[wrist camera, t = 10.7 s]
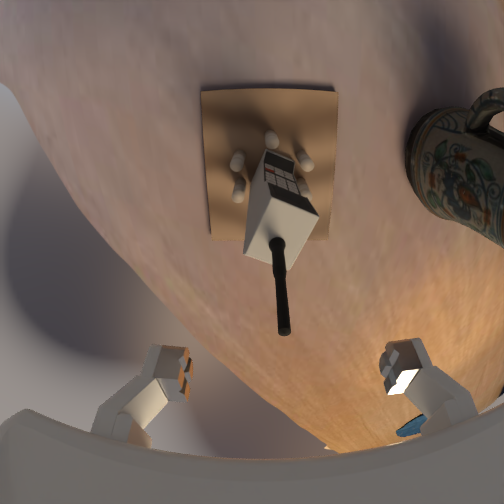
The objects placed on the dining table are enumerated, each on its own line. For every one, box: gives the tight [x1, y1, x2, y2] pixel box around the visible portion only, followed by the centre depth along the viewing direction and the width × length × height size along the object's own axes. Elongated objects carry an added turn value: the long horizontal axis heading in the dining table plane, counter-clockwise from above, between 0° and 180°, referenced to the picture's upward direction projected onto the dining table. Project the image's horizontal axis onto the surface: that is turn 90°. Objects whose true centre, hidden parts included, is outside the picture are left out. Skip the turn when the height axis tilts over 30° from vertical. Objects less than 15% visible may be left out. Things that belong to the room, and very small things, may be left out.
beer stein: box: [405, 88, 504, 248], centre depth 21 cm, size 16×19×25 cm
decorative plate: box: [396, 414, 428, 437], centre depth 80 cm, size 30×30×5 cm
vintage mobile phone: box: [243, 149, 319, 336], centre depth 23 cm, size 4×5×25 cm
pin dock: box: [201, 88, 338, 241], centre depth 32 cm, size 20×16×6 cm
